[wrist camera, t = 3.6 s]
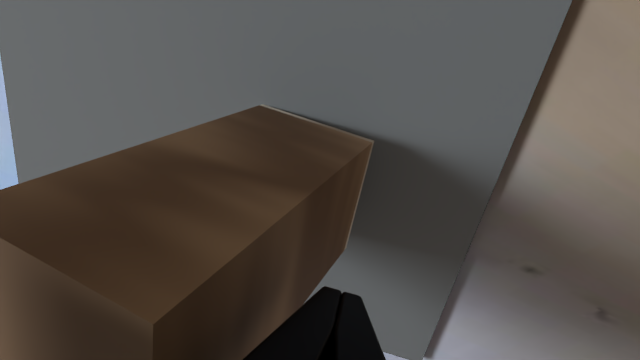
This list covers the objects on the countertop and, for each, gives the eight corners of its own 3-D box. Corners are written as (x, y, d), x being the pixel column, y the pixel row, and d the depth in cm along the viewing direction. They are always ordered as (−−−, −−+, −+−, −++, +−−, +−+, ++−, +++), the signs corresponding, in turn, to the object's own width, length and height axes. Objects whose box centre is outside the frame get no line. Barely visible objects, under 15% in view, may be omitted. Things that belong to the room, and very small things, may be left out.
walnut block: (374, 140, 13) (153, 324, 5) (346, 247, 14) (149, 505, 7) (262, 104, 14) (-53, 207, 6) (249, 206, 16) (-13, 386, 8)
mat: (570, -8, 11) (575, -8, 11) (420, 355, 17) (420, 363, 17) (-14, -126, 13) (-26, -129, 13) (34, 239, 19) (27, 244, 19)
